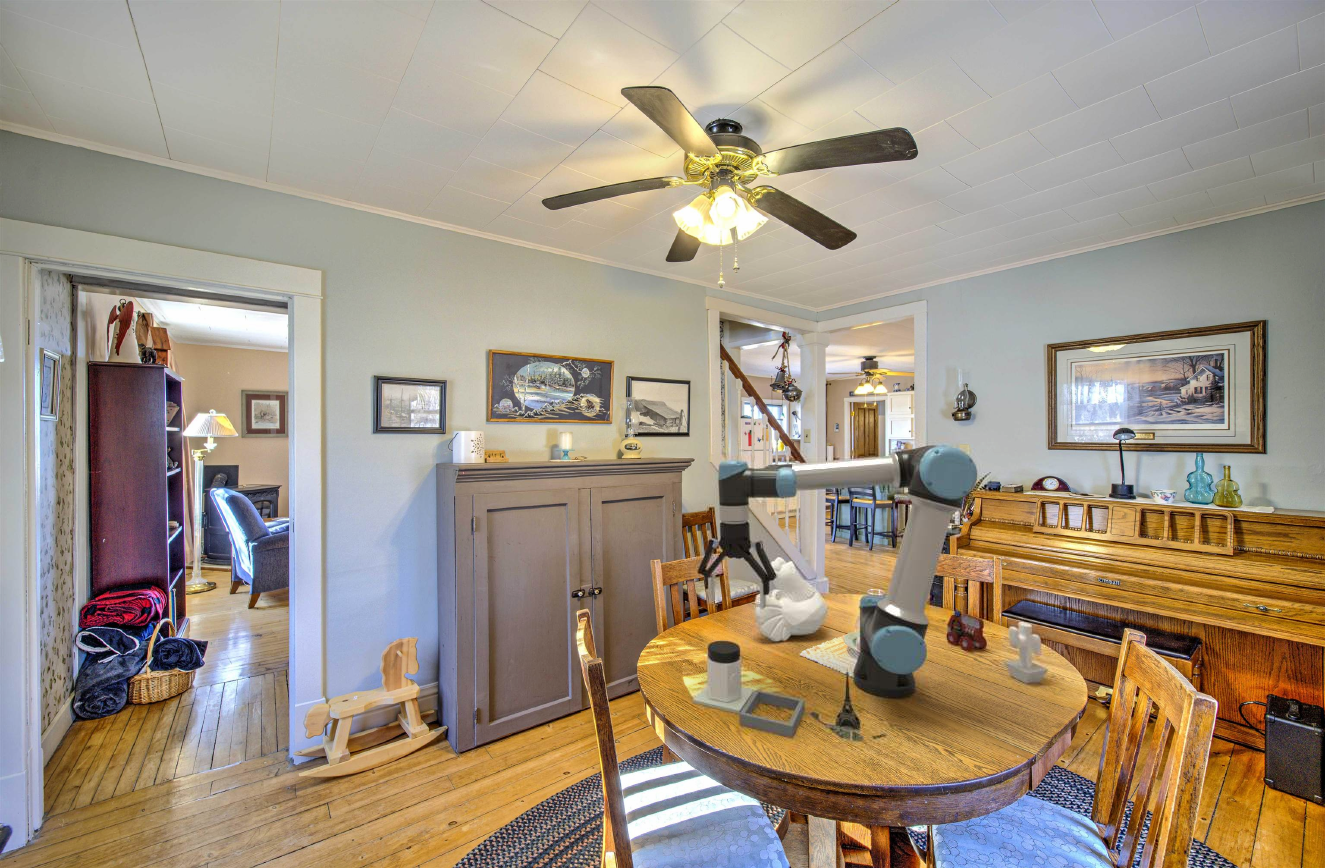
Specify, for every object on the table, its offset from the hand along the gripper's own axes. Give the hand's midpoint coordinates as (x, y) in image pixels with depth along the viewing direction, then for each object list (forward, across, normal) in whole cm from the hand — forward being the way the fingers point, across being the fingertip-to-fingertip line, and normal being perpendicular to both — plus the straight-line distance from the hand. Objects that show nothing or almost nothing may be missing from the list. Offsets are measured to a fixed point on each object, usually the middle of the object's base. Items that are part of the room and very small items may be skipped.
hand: (737, 604), depth 135 cm
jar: (+22, +3, +3) cm, 23 cm away
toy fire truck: (+25, -55, -60) cm, 85 cm away
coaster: (+23, +3, +3) cm, 23 cm away
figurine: (+25, -67, -40) cm, 82 cm away
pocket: (+23, -10, +7) cm, 26 cm away
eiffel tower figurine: (+24, -26, +3) cm, 36 cm away
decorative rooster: (+23, -2, -46) cm, 52 cm away
